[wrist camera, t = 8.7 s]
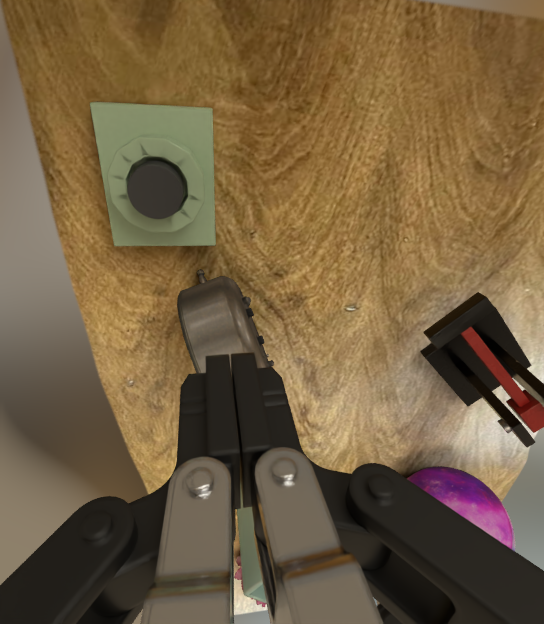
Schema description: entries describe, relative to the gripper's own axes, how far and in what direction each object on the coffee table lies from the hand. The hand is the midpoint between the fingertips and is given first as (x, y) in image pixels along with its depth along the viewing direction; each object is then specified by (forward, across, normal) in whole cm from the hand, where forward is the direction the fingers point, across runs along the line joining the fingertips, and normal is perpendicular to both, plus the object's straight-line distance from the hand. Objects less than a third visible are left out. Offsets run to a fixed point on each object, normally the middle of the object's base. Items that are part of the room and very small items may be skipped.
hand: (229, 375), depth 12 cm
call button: (+19, +4, -1) cm, 20 cm away
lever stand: (+22, -30, +20) cm, 42 cm away
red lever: (+16, -26, +15) cm, 34 cm away
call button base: (+22, +4, -1) cm, 23 cm away
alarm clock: (+22, -1, +11) cm, 25 cm away
